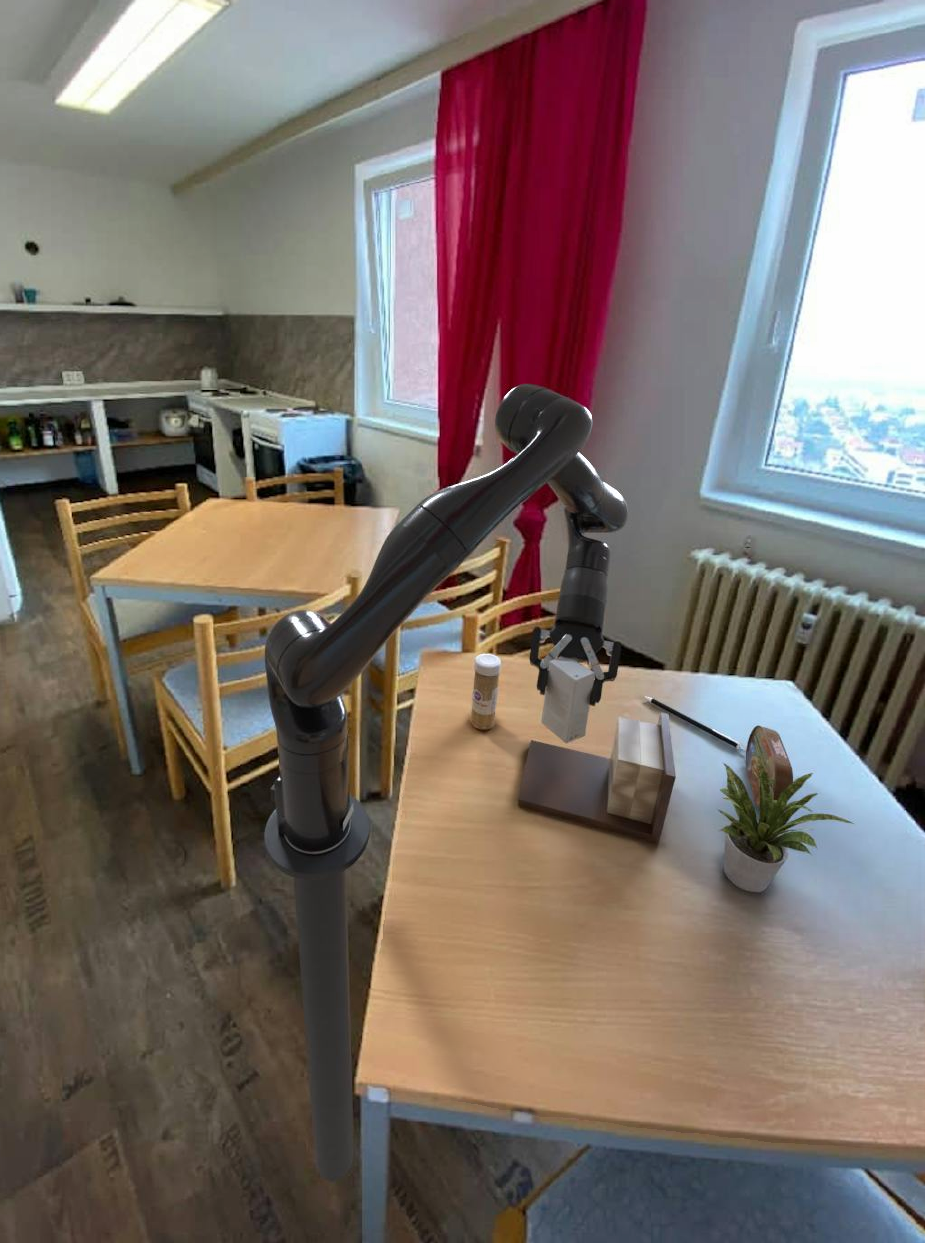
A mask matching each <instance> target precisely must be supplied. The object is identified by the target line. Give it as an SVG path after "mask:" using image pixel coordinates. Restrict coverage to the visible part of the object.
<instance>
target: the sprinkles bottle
mask: <svg viewBox="0 0 925 1243" xmlns="http://www.w3.org/2000/svg"><path fill="white" fill-rule="evenodd" d="M473 668H474V677H473V689H472V697H471V713H470V719H469V721H470V723H471V725H472V726H473V727H474V728H476V729H477V730H483V731H485V730H489V729H491V728H494V726H495V724H496V711H497V704H498V703H497V702H498V694H499V679H500V673H501V670H502V660H501V659H500V657H499V656H497V655H495V654H492V653H481V654H478V655H477V656H476V657H475V659H474V666H473Z"/></svg>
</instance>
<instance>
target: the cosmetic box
mask: <svg viewBox="0 0 925 1243" xmlns="http://www.w3.org/2000/svg"><path fill="white" fill-rule="evenodd" d="M594 676H595V673H594V672H593V671H591V670H590V669H589V667H586V666H585V665H583V663H580V662H577V661H576V660H574V659H573V658H567V657H560V658H558V659H555V660H552V661H549V668H548V676H547V683H546V690H545V695H544V700H543V706H542V713H541V721H540V722H541V724H542V725H543V726H545V727H546V728H547V729H548V730H549V731H551V732H552V733H553V734H554V735H555V736H556V737H557V738H559V739H560V740H561V741H563V742H564V744H569V743H572V742H573V741H575V740H578V739H580V738H582V737H584V736H586V731H587V725H588V718H589V712H590V707H591V705H590V701H591V695H592V689H593V682H594V680H595V679H594Z"/></svg>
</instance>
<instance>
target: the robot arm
mask: <svg viewBox="0 0 925 1243" xmlns="http://www.w3.org/2000/svg"><path fill="white" fill-rule="evenodd" d="M494 429H495V433H496V436H497V438H498V440H499V441H500V442H501V443H502V445H504V446H505V447H506V448H507V449H508V450H510V451H511V452H513V453H514V454H516V455H514V456H513V457H512V458H510V460H508V461H507V462H506V463H504V464H503V465H501V466H500V467H499V468H497V469H495V470H493V471H491V472H488V473H487V474H484V475H481V476H479V477H476V478H473V479H470V480H467V481H463V482H460V483H457V484H453V485H451V486H447V487H445V488H442V489H439V490H437V491H435V492H433V493H430V494H429V495H428V496H426V497H425V498H423V499H422V500H421V501H420V502H419V503H418V504H416V506H414V508H413V509H411V510H410V512H408V514H406V516H404V518H402V520H401V521H399V522H398V523H397V524H396V525H395V527H393V528H392V530H391V531H390V532H389V533H388V535H387V536H386V538H385V539H384V542H383V543H382V545H381V548H380V550H379V552H378V555H377V557H376V559H375V560H374V564H373V566H372V568H371V571H370V573H369V576H368V578H367V580H366V582H365V584H364V586H363V588H362V590H361V591H360V592H359V594H358V595H357V596H356V598H355V599H354V600H353V601H352V602H351V604H349V606H348V607H347V608H346V609H345V610H344V611H343V612H342V613H341V614H340V615H339V616H338V617H336V619H335V620H333V622H332V623H331V622H330V621H329V620H328V619H327V618H326V617H325V616H323V615H322V614H320V613H318V612H316V611H313V610H307V609H306V610H305V609H303V610H302V609H301V610H300V609H299V610H295V611H292V612H290V613H288V614H285V615H284V616H282V617H281V618H280V619H278V621H277V622H276V623H275V624H274V625H273V626H272V628H271V630H269V633H268V636H267V638H266V641H265V646H264V666H265V675H266V685H267V691H268V692H267V693H268V702H269V707H270V712H271V715H272V718H273V722H274V726H275V734H276V742H277V743H276V744H277V745H276V746H277V756H278V769H279V775H278V777H277V778H276V779H275V780H274V783H273V785H272V786H271V787H270V788H269V790H270V791H269V792H270V802H271V803H275V809H276V812H277V823H278V835H279V836H281V837H284V838H285V840H286V842H287V844H288V845H289V847H290V848H291V849H293V850H294V851H296V852H297V853H300V854H303V855H307V856H320V855H324V854H328V853H330V852H332V851H334V850H336V849H337V848H339V847H340V846H341V845H342V844H343V843H344V842H345V841H346V839H347V837H348V835H349V833H350V829H351V819H350V817H351V815H352V813H353V811H354V808H353V804H352V806H351V808H350V795H351V793H350V761H349V760H350V759H349V758H350V756H349V718H348V710H347V707H346V704H345V702H344V699H343V697H342V695H343V694H344V693H345V692H346V691H347V690H348V689H349V688H350V687H351V686H352V685H353V684H354V683H355V681H356V680H357V679H358V678H359V677H360V675H361V674H362V673H363V672H364V670H365V669H366V668H367V667H368V666H369V664H370V663H371V662H372V661H373V659H374V658H375V657H376V655H378V653H379V652H380V651H381V649H382V648H383V647H384V646H385V645H386V643H387V642H388V641H389V640H390V639H391V637H392V636H393V635H394V634H395V632H397V630H398V629H399V628H400V627H401V626H402V625H403V624H404V623H405V622H406V621H407V620H408V619H409V617H410V616H412V615H413V613H414V612H415V611H416V610H417V609H418V608H419V607H420V606H421V605H422V603H424V602H425V600H426V599H428V597H429V596H430V595H431V594H432V593H433V592H434V591H435V590H436V589H437V588H438V587H439V586H440V585H442V584H443V583H444V582H445V581H446V580H447V579H448V578H449V577H450V576H451V575H452V574H453V573H454V572H455V571H456V570H457V569H458V568H459V567H460V566H461V565H462V564H463V563H464V562H466V560H467V559H468V558H469V557H470V556H471V555H472V554H473V553H474V552H475V550H476V549H477V548H478V547H479V546H480V545H481V544H482V543H483V542H484V541H485V540H486V539H487V538H488V537H489V536H490V535H491V534H492V533H493V531H495V530H496V529H497V528H498V527H499V526H500V525H501V524H502V523H503V522H504V521H505V520H506V519H507V518H508V517H509V516H510V515H511V514H512V513H513V512H514V511H515V510H516V509H517V508H518V507H520V506H521V505H522V504H523V503H524V502H526V501H527V500H528V499H529V498H530V497H531V496H532V495H534V494H535V493H536V492H537V491H538V490H540V489H542V487H544V485H546V484H548V486H549V487H550V489H551V490H552V491H553V493H554V495H556V497H557V498H558V500H559V501H560V502H561V503H562V505H563V506H564V507H563V516H564V522H565V529H566V537H567V554H566V561H565V566H564V572H563V576H562V579H561V581H560V582H561V583H560V587H559V593H558V599H557V605H556V612H555V618H554V624H553V627H552V628H551V629H550V630H548V629H541V627H540V626H535V627H533V629H532V636H531V637H532V638H531V645H530V651H529V664H530V665H531V666H533V667H535V668H536V669H538V674H537V675H538V676H537V681H536V689H537V691H539V695H541V696H545V691H546V683H547V676H548V668H549V661H552V660H555V659H558V658H561V657H567V658H573V659H574V660H576V661H577V662H579V663H580V664H583V663H586V665H587V666H588V667H587V668H588V669H590V670H591V671H593V672H594V673H595V676H594V682H593V689H592V695H591V701H590V707H595V706H596V704H599V703H600V702H601V700H602V693H603V685H604V684H605V683H607V682H615V680H616V679H617V676H618V671H619V664H620V657H621V651H622V642H620V641H619V640H618V641H614V642H613V641H610V640H609V641H608V640H605V638H604V637H603V628H604V620H605V613H606V606H607V605H606V604H607V598H608V577H609V572H610V571H609V570H610V563H611V557H612V556H611V554H612V553H611V549H610V546H609V545H608V544H606V543H605V542H603V541H601V540H598V539H595V538H591V537H587V536H585V534H613V533H617V532H619V531H621V529H623V528H624V527H625V525H626V524H627V521H628V518H629V508H628V504H627V502H626V499H625V498H624V496H623V495H622V493H620V491H618V490H617V489H616V488H614V487H613V486H611V485H609V484H608V483H607V482H605V481H602V479H601V477H600V475H599V474H598V472H597V469H596V468H595V467H594V466H593V464H591V463H590V461H588V459H587V458H586V457H585V456H584V455H582V454H581V453H580V452H581V451H582V449H584V446H585V444H586V443H587V441H588V439H589V437H590V435H591V432H592V429H593V417H592V414H591V412H590V411H589V409H588V408H587V407H585V406H584V405H582V404H581V403H579V402H577V401H575V400H573V399H571V398H569V397H566V396H564V395H561V394H560V393H557V392H556V391H554V390H552V389H549V388H547V387H545V386H542V385H540V384H535V383H522V384H518V385H517V386H515V387H512V389H511V390H510V391H508V392H507V393H506V395H505V396H504V397H503V399H502V400H501V401H500V404H499V406H498V407H497V410H496V414H495V418H494ZM548 638H549V640H550V641H551V643H552V645H553V648H552V649H551V650H550V651H549V652H548V653H547V655H546V656H545V657H544V658H543V659H541V658H540V657H539V654H540V647H541V646H540V645H541V644H543V643H545V642H546V640H547V639H548ZM603 648H604V649H605V654H606V655H607V656H609V657H610V658H609V663H608V670H607V671H603V670H602V668H601V665H600V662H599V660H598V658H597V656H596V655H597V654H598V653H599V652H600V651H601V650H602V649H603Z"/></svg>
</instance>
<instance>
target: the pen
mask: <svg viewBox="0 0 925 1243" xmlns="http://www.w3.org/2000/svg"><path fill="white" fill-rule="evenodd" d="M643 697H644V698H645V699H646V700H647V701H648V702H649V703H651V704H653V705H655V706H656V707H658V708H660V709H662V710H664V711H665V712H668V713H669V714H672V715H673V716H675V717H678V718H679V719H681V720H682V721H685V722H687V723H689V724H690V725H692V726H694V727H696V728H698V729H699V730H702V731H704V732H705V733H707V734H709V735H711V736H713V737H715V738H716V739H718V740H721V741H722V742H724V743H726V744H728V745H730V746H732V747H734V748H735V749H737V750H739V749H741V750H742V751H744V752H746V749H747V748H746V747H743V746H741V743H740V742H739V741H737V740H735V739H733V738H732V737H730V736H727V735H726V734H724V733H722V732H720V731H718V730H716V729H714V728H710V727H708V726H706V725H704V724H703V723H701V722H698V721H697V720H695V719H693V718H691V717H689V716H687V715H685V714H683V713H682V712H680V711H678V710H676V709H674V708H673V707H670V706H668V705H666V704H664V703H662V702H661V701H658V700H657V699H655V698H653V697H649V696H646V695H643Z"/></svg>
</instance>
